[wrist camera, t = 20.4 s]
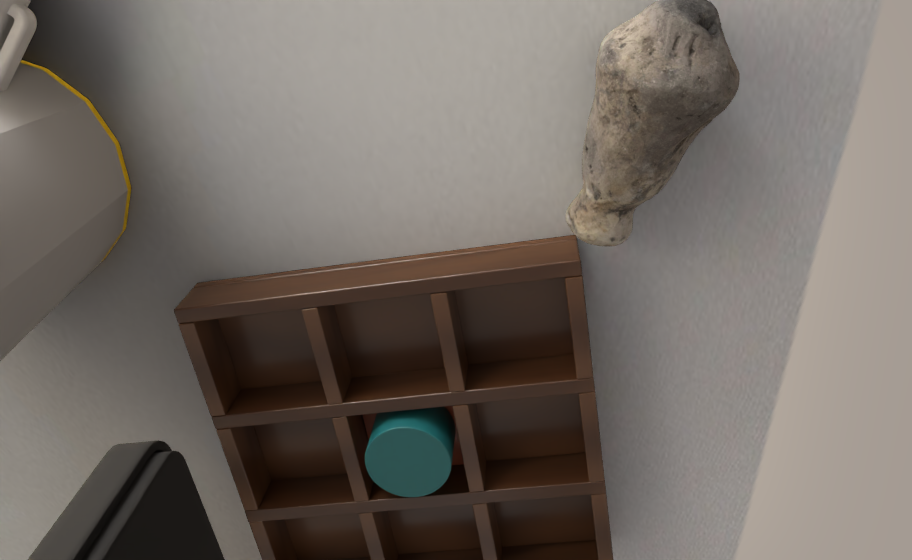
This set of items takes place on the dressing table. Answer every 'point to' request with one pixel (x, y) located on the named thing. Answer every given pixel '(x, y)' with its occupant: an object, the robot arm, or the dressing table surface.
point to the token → (411, 451)
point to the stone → (648, 111)
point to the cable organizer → (14, 36)
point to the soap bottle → (53, 196)
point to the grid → (409, 402)
